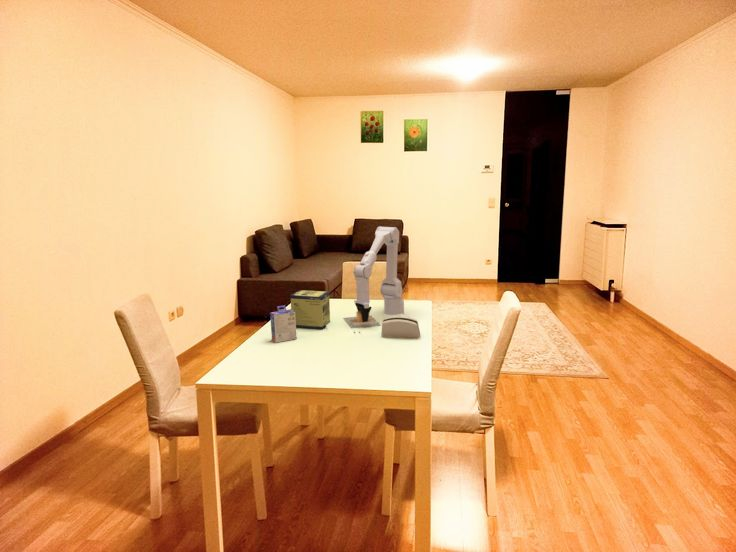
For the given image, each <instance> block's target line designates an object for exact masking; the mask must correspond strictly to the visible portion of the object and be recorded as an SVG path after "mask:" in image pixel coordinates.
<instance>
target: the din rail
mask: <svg viewBox="0 0 736 552" xmlns="http://www.w3.org/2000/svg"><path fill="white" fill-rule="evenodd" d="M373 318H374V317H373V316H372V317H371V318H369V321H368V322H357V319H350V323H351V325H352V326H353V327H360V326H371V325H377V322H378V321H377V320H376V321H374V319H375V318H374V319H373Z"/></svg>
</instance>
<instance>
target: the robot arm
mask: <svg viewBox="0 0 736 552" xmlns="http://www.w3.org/2000/svg"><path fill="white" fill-rule="evenodd" d="M374 232H375V233H374V236H375V238H374V240H373V242H372V245H371V247H370V249H369V250H368V251H366V252H364V255H363V257H362V259H361V261H360V262H359V264H357V265H355V267H354V269H353V271H352V272H353V276H354V280H355V281H356V283H355V285H356V300H354V301H353V302H354V305H355V307H356V309H357V310H356V311H360V312H361V316H362V321H363V322H367V321H368V316H370V312H371V311H372V306H370V302H371V300H370V277H371V276H372V273H373V266H374V264H375V262H376V261H377V259H378V258H377V257H378V256H377V254H378V252H379V251H380V249H382V246H383V245H384V244H385V245H386V261H385V262H386V264H385V266H386V267H385V271H386V272H385V278H384V279H382V281H381V285H380V294H381V296H382V298H383V302H384V303H383V308H384V309H383V310H384V311H383V312H384V314H385V315H387V316H388V315H390V316H393V315H394V316H395V315H400V314H401V315H402V314H403V315H405V301H404V297H403V295H402V294H403V287H402V281H401V280H400V278H398V253H399V252H398V249H399V248H398V247H399V244H400V230H399V229H398V228H397V227H396V226H394V227H393V226H378V227H377V228H376V230H375V231H374Z"/></svg>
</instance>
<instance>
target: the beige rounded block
mask: <svg viewBox="0 0 736 552" xmlns="http://www.w3.org/2000/svg"><path fill="white" fill-rule="evenodd" d="M420 335H421V331H420V327H419V321H418V320H417V319H415V318H412V317H410V316H409V317H408V316H401V315H399V316H397V315H396V316H395V315H394V316H389V317H388V316H387V317H385V318H383V320H382V323H381V337H392V338H393V337H397V338H416V339H417V338H418V339H420V337H421V336H420Z"/></svg>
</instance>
